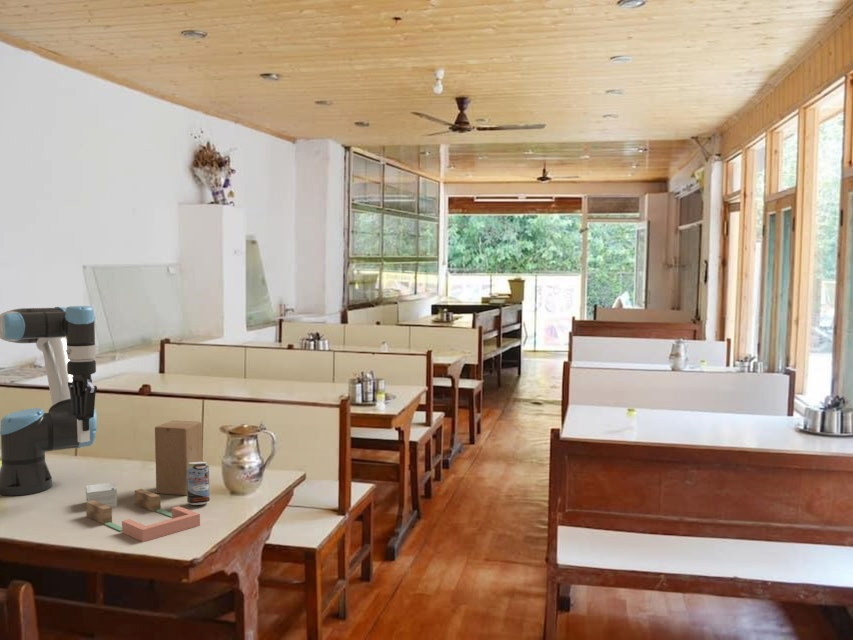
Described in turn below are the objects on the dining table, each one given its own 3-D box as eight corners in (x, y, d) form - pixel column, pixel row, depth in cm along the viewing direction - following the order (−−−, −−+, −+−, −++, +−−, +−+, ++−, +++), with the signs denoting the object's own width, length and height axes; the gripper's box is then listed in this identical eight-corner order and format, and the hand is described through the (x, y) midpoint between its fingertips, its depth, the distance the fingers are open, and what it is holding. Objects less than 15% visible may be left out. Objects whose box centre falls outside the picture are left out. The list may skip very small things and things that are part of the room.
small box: (86, 502, 224) (85, 485, 223) (115, 499, 227) (115, 481, 227) (87, 510, 217) (86, 492, 216) (117, 507, 220) (117, 488, 219)
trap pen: (122, 532, 199) (121, 520, 198) (178, 517, 211) (178, 506, 211) (142, 541, 192) (142, 529, 192) (200, 525, 204) (199, 514, 204)
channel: (86, 516, 211) (85, 501, 211) (141, 502, 223) (141, 488, 223) (104, 524, 205) (104, 509, 204) (160, 510, 217) (160, 495, 216)
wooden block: (186, 495, 230) (185, 428, 228) (155, 493, 232) (154, 426, 230) (203, 486, 240) (202, 421, 238) (173, 484, 242) (171, 419, 240)
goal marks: (104, 524, 205) (104, 523, 205) (160, 510, 217) (160, 509, 217) (120, 531, 199) (120, 530, 199) (176, 516, 211) (176, 515, 211)
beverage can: (189, 509, 217) (188, 466, 217) (184, 501, 224) (183, 460, 223) (212, 506, 220) (212, 463, 219) (207, 498, 227) (206, 457, 226)
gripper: (57, 359, 227) (60, 440, 228) (79, 363, 218) (82, 447, 220) (83, 356, 232) (85, 435, 234) (105, 360, 224) (107, 442, 225)
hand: (83, 441), depth 227 cm, fingers closed
